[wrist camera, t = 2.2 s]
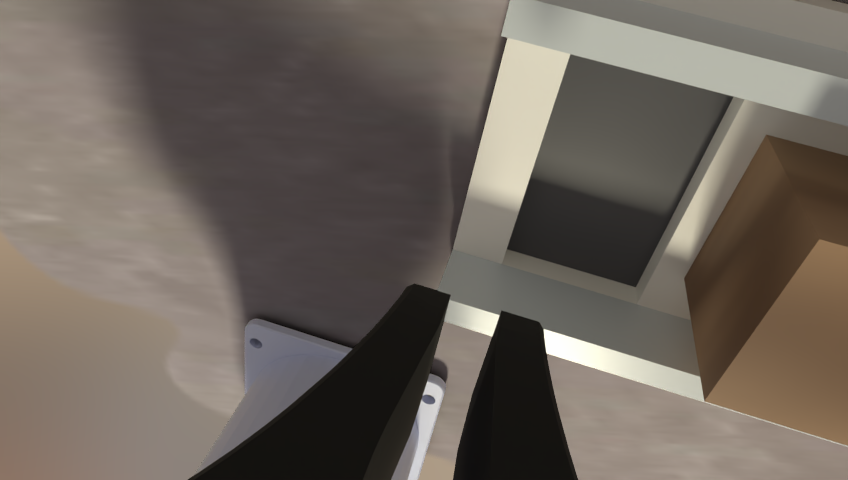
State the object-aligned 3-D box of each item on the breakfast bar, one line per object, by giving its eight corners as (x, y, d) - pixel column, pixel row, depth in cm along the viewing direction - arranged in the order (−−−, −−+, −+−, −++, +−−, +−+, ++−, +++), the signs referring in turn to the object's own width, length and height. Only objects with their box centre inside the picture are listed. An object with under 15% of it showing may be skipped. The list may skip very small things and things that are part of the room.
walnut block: (849, 326, 16) (917, 467, 13) (683, 278, 16) (704, 401, 13) (966, 187, 13) (1092, 315, 10) (765, 134, 14) (819, 239, 10)
